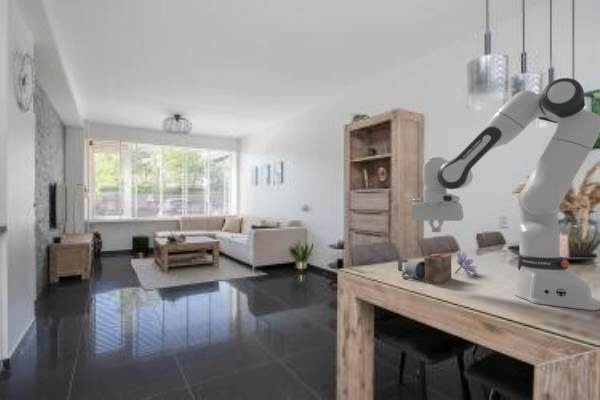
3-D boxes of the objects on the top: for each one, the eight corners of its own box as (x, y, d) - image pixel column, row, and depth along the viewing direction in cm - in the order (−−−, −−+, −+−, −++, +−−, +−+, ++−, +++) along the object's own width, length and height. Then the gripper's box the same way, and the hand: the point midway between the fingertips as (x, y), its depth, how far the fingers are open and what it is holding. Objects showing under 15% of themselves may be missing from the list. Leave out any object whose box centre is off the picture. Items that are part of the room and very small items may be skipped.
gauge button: (441, 269, 132) (441, 254, 132) (438, 270, 130) (438, 255, 130) (433, 268, 134) (432, 253, 134) (430, 269, 132) (429, 255, 132)
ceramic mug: (416, 274, 145) (416, 257, 145) (430, 278, 137) (429, 260, 137) (397, 277, 141) (396, 259, 141) (410, 281, 133) (409, 263, 133)
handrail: (439, 275, 143) (439, 263, 143) (438, 276, 142) (438, 264, 142) (398, 269, 155) (398, 258, 155) (397, 270, 154) (397, 259, 154)
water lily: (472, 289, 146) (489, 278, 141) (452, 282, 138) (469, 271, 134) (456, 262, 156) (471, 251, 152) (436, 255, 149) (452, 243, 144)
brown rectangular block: (451, 278, 137) (451, 254, 137) (440, 284, 127) (439, 259, 127) (435, 276, 142) (435, 253, 142) (423, 282, 131) (423, 257, 131)
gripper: (407, 199, 137) (408, 231, 136) (459, 196, 123) (460, 233, 123) (413, 198, 141) (414, 230, 141) (463, 196, 128) (465, 231, 127)
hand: (436, 231), depth 132 cm, fingers closed
